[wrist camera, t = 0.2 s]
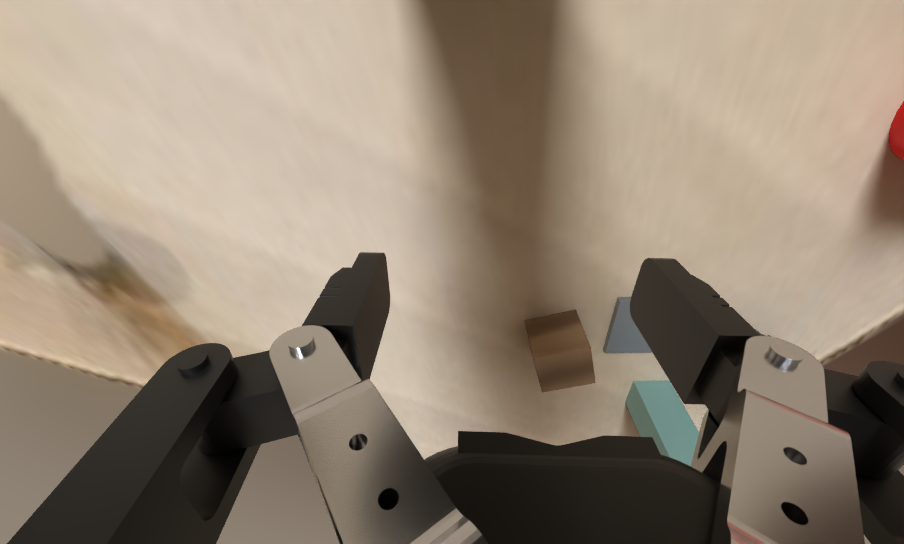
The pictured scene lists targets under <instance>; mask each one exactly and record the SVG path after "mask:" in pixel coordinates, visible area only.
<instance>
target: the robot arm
mask: <svg viewBox="0 0 904 544" xmlns="http://www.w3.org/2000/svg"><path fill="white" fill-rule="evenodd" d="M389 308H390V290H389V281H388V271H387V262H386V256H385V254H384V253H365V252H361V253H359V255H358V257H357V259H356V261H355V263H354V265H353V266H352V268H342V269H340V270H339V271H338V272H336V273H335V274H334V275H332V276H331V277H330V279H329V281H328V282H327V284H326V286H325V289H323V291H322V293H321V294H320V298H318V299H317V301H316V303H315V305H314V306H313V308H312V310H311V311H310V313H309V315H308V316H307V318H306V320H305V322H304V323H303V325H302V326H301V327H297V328H294V329H292V330H289V331H287V332H285V333H284V334H282V335H281V336H279V337H278V338H277V339H276V340H275V341H274V342H273V344H272V345H271V347H270V350H269V351H265V352H261V353H256V354H251V355H246V356H241V357H236V358H233V357H232V355H231V352H230V350H229V349H228V348H227V347H226V346H224V345H222V344H217V343H207V344H201V345H197V346H194V347H191V348H188V349H186V350H184V351H181V352H180V353H178V354H176V355H175V356H173V357H172V358H170V359H169V360H168V361H166V362H165V363H164V364H163V365H162V367H161V368H160V369H159V370H158V371H157V372H156V373H155V375H154V376H153V377H152V378H151V379H150V380H149V381H148V383H147V384H146V385H145V386H144V387H143V388H142V390H141V391H140V392H139V393H138V394H137V395H136V396H135V398H134V399H133V400H132V401H131V402H130V403H129V404H128V406H127V407H126V408H125V409H124V410H123V411H122V412H121V414H120V415H119V416H118V417H117V418H116V419H115V421H114V422H113V423H112V424H111V425H110V426H109V427H108V428H107V430H106V431H105V432H104V433H103V434H102V436H101V437H100V438H99V439H98V440H97V441H96V442H95V443H94V445H93V446H92V447H91V448H90V449H89V450H88V451H87V453H86V454H85V455H84V456H83V457H82V459H80V461H79V462H78V463H77V464H76V465H75V467H74V468H73V469H72V470H71V471H70V472H69V473H68V474H67V476H66V477H65V478H64V479H63V480H62V481H61V482H60V484H59V485H58V486H57V487H56V488H55V489H54V490H53V492H52V493H51V494H50V495H49V496H48V497H47V499H46V500H45V501H44V502H43V503H42V504H41V505H40V507H39V508H38V509H37V510H36V511H35V512H34V513H33V515H32V516H31V517H30V518H29V519H28V520H27V522H26V523H25V524H24V525H23V526H22V527H21V528H20V530H19V531H18V532H17V533H16V534H15V535H14V536H13V537H12V539H11V540H10V541H9V542H8V543H7V544H216V542H217V540H218V538H219V535H220V534H221V531H222V529H223V527H224V525H225V522H226V520H227V518H228V516H229V514H230V511H231V509H232V507H233V505H234V502H235V500H236V498H237V496H238V494H239V491H240V489H241V487H242V485H243V482H244V480H245V478H246V476H247V474H248V471H249V469H250V467H251V464H252V463H253V460H254V458H255V456H256V454H257V451H258V449H259V447H260V445H261V444H263V443H267V442H270V441H274V440H278V439H282V438H286V437H289V436H293V435H297V434H298V437H299V440H300V442H301V445H302V447H303V450H304V452H305V455H306V458H307V460H308V463H309V465H310V468H311V471H312V473H313V476H314V478H315V481H316V484H317V486H318V489H319V491H320V494H321V497H322V499H323V502H324V505H325V507H326V510H327V513H328V515H329V518H330V521H331V523H332V526H333V529H334V531H335V534H336V536H337V539H338V542H339V544H865V541H864V535H865V536H866V537H867V539H868V540H869V541H870V543H871V544H904V476H903V475H902V474H901V473H900V472H899V471H898V469H900V468H901V467H902V466H903V465H904V365H901V364H897V363H893V362H886V361H874V362H871V363H869V364H868V365H867V366H866V367H865V369H864V370H863V371H862V372H861V373H860V374H859V376H854V375H849V374H845V373H841V372H836V371H832V370H827V369H823V367H822V365H821V363H820V362H819V361H818V360H817V359H816V358H815V357H814V356H813V355H811V354H810V353H809V352H807V351H806V350H804V349H802V348H800V347H799V346H797V345H795V344H792V343H790V342H787V341H785V340H782V339H778V338H774V337H769V336H761V335H760V334H759V333H758V332H757V331H756V330H755V329H754V328H753V327H752V326H751V325H750V324H749V323H748V322H747V321H745V320H744V319H743V318H742V317H741V316H740V315H739V314H738V313H737V312H736V311H735V310H734V309H733V308H732V307H729V304H728V303H727V302H726V301H725V300H724V299H723V298H720V295H719V294H718V293H717V292H716V291H715V290H714V289H713V288H712V287H711V286H710V285H709V284H707V283H705V282H703V281H702V280H700V279H698V278H696V277H695V276H693V275H691V274H690V273H689V272H688V271H687V270H686V269H685V268H684V267H683V266H682V265H681V264H680V263H679V262H678V261H677V260H675V259H665V258H647V259H645V260H644V262H643V263H642V266H641V269H640V272H639V275H638V278H637V281H636V284H635V287H634V290H633V294H632V297H631V300H630V314H631V317H632V319H633V321H634V323H635V325H636V326H637V328H638V329H639V331H640V333H641V334H642V336H643V338H644V339H645V341H646V342H647V344H648V346H649V347H650V349H651V351H652V352H653V354H654V355H655V357H656V359H657V360H658V362H659V364H660V365H661V367H662V369H663V370H664V372H665V373H666V375H667V377H668V378H669V380H670V382H671V383H672V385H673V386H674V388H675V390H676V391H677V393H678V395H679V396H680V398H681V400H682V401H683V403H684V404H705V405H706V406H707V408H708V410H707V412H706V413H705V415H704V417H703V420H702V424H701V428H700V432H699V436H698V439H697V443H696V447H695V451H694V455H693V459H692V463H691V466H689V465H687V464H685V463H682V462H680V461H678V460H675V459H673V458H670V457H667V456H665V455H661V454H660V452H659V450H658V448H657V446H656V444H655V442H654V440H653V437H630V436H601V437H596V438H592V439H588V440H583V441H579V442H575V443H570V444H566V445H561V446H555V445H550V444H546V443H543V442H539V441H535V440H531V439H528V438H524V437H520V436H516V435H512V434H509V433H500V432H467V431H458V446H457V447H453V448H449V449H446V450H443V451H441V452H438V453H436V454H434V455H432V456H430V457H428V458H426V459H425V460H424V459H423V458H422V456H421V455H420V453H419V452H418V450H417V449H416V447H415V446H414V444H413V443H412V441H411V440H410V438H409V437H408V435H407V434H406V432H405V431H404V429H403V428H402V426H401V425H400V423H399V422H398V420H397V419H396V417H395V416H394V414H393V413H392V411H391V410H390V408H389V407H388V405H387V404H386V402H385V401H384V399H383V398H382V396H381V395H380V393H379V392H378V390H377V389H376V387H375V386H374V384H373V383H372V382H371V381H370V380H369V379H370V376H371V372H372V369H373V365H374V362H375V358H376V355H377V351H378V348H379V345H380V341H381V338H382V334H383V331H384V327H385V324H386V320H387V317H388V314H389Z"/></svg>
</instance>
